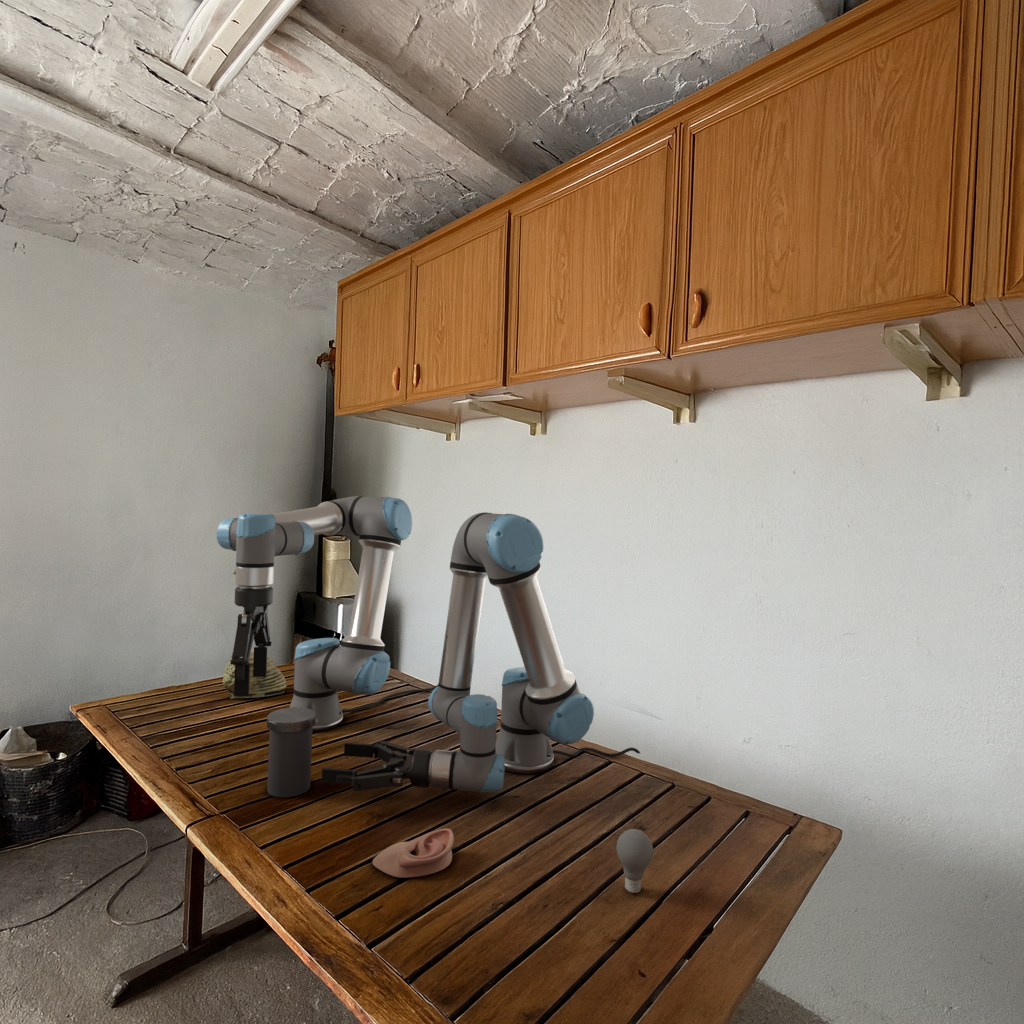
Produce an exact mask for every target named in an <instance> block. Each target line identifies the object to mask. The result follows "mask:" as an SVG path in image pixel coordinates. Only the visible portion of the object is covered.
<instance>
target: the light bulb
mask: <svg viewBox="0 0 1024 1024" xmlns="http://www.w3.org/2000/svg"><path fill="white" fill-rule="evenodd" d="M615 849H616V854H617V857H618V859H619V861H620V863H621V865H622V867H623V873H624V874H623V875H624V876H625V878H624V888H625V890H627V891H628V892H630V893H634V894H635V893H639V892H640V891H641V889H642V887H641V886H642V879H643V877H644V875H645V871H646V868H647V867H648V866H649V864H650V863H651V861H652V859H653V855H654V847H653V843H652V841H651V838H649V836H648V835H647V834H646V833H645V832H643V831H642V830H641V829H636V828H629V829H627V830H625V831H623V832H622V833H621V834H620V835H619V837H618V839H617V841H616V847H615Z"/></svg>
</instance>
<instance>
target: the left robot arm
mask: <svg viewBox="0 0 1024 1024" xmlns="http://www.w3.org/2000/svg"><path fill="white" fill-rule="evenodd" d="M412 529H413V517H412V512H411V509H410V507H409V505H408V504H407V502H406V501H405V500H403V499H401V498H397V497H392V496H391V497H390V496H363V495H354V496H347V497H342V498H337V499H332V500H327V501H323V502H320V503H319V504H318V505H317V506H314V507H308V508H301V509H295V510H290V511H283V512H277V513H263V512H261V513H260V512H256V513H255V512H245V513H241V514H240V515H238V517H234V518H231V517H229V518H228V517H227V518H225V519H223V520H222V521H221V522H220V523H219V524H218V526H217V528H216V533H215V534H216V535H215V536H216V541H217V543H218V545H219V546H220V547H221V548H223V549H224V550H231V551H232V552H235V569H233V571H232V574H233V575H235V579H234V582H235V585H236V587H235V589H234V605H236V606H237V607H242V608H243V611H242V612H243V613H238V615H237V626H236V631H235V638H234V645H233V650H232V653H233V655H232V654H231V655H232V660H230V664H231V665H235V680H234V696H249V681H250V663H249V657H250V653H251V649H254V659H253V677H266V673H267V655H268V647H272V643H273V642H272V641H271V634H270V624H269V614H268V611H269V609H268V608H269V606H270V605H272V604H273V601H274V588H273V587H272V585H274V583H275V582H274V581H275V580H274V579H275V573H274V572H275V557H280V556H281V557H282V556H292V555H294V556H298V555H300V554H305V553H307V552H308V551H310V550H311V549H312V547H313V545H314V543H315V536H319V535H324V536H335V535H340V536H341V535H343V536H351V537H358V543H359V544H360V545H361V547H362V551H361V552H362V553H361V557H360V565H359V571H358V575H357V582H356V587H355V594H354V600H353V605H352V612H351V617H350V622H349V623H350V624H349V629H348V633H347V635H346V636H344V638H342V639H341V641H340V640H339V638H337V637H321V638H313V639H307V640H304V641H302V642H299V643H298V644H297V645H296V647H295V652H294V653H295V654H294V657H293V659H294V661H293V662H294V670H293V695H292V696H293V697H292V699H291V702H290V704H289V707H288V708H293V707H300V708H308V709H311V710H313V711H314V712H315V715H316V723H315V725H314V726H313V728H312V733H316V732H325V731H329V730H332V729H335V728H337V727H339V726H340V725H342V723H343V722H344V714H343V713H350V712H357V711H361V710H365V709H369V708H371V707H375V706H377V705H379V704H381V703H383V701H385V700H387V699H390V698H393V697H396V696H400V695H405V694H411V693H421V692H423V693H424V692H429V691H430V692H432V691H433V690H434V689H435V688H436V687H438V684H436V685H435V686H433V687H429V688H420V689H419V688H417V689H409V690H404V691H399V692H395V693H391V694H389V695H386V696H383V697H381V699H379V700H378V701H376V702H375V701H374V702H372V703H370V704H367V705H364V706H359V707H353V708H342V706H341V702H340V699H339V695H338V691H340V692H347V693H352V694H355V695H366V696H370V695H374V694H376V693H377V692H379V691H380V690H381V689H382V687H383V686H384V685H385V683H386V681H387V679H388V677H389V674H390V671H391V658H390V656H389V654H388V653H386V652H385V646H386V644H385V643H384V642H383V640H382V639H381V637H382V630H383V624H384V617H385V610H386V604H387V599H388V593H389V592H388V591H389V586H390V579H391V574H392V573H391V572H392V568H393V560H394V554H395V552H396V551H398V550H399V549H400V548H401V546H402V545H401V544H402V541H405V540H407V539H408V538H409V537H410V534H411V533H412ZM253 644H254V647H253ZM240 657H242V658H240Z"/></svg>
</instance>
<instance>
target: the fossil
mask: <svg viewBox="0 0 1024 1024" xmlns="http://www.w3.org/2000/svg"><path fill="white" fill-rule="evenodd" d="M232 655H233V652H232V653H231V656H230V657H229V659H228V660H227V663H226V666H225V668H224V671H223V675H222V676H223V677H222V685H223V687H224V688H225V690H226V691H228V693H229V698H230V699H250V698H264V697H271V696H275V695H281V694H284V693H285V691H286V689H287V687H288V686H287V680H286V678H285V676H284V674H283V673H282V672H281V669H279V668H278V667H277V665H276V663H275V662H274V660H273V659H272V658H271V657H270V656H269V655H268V654H267V673H266V677H253V659H254V648H251V653H250V657H249V663H250V681H249V696H234V680H235V665H231V664H230V660H232ZM240 658H242V657H240Z"/></svg>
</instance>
